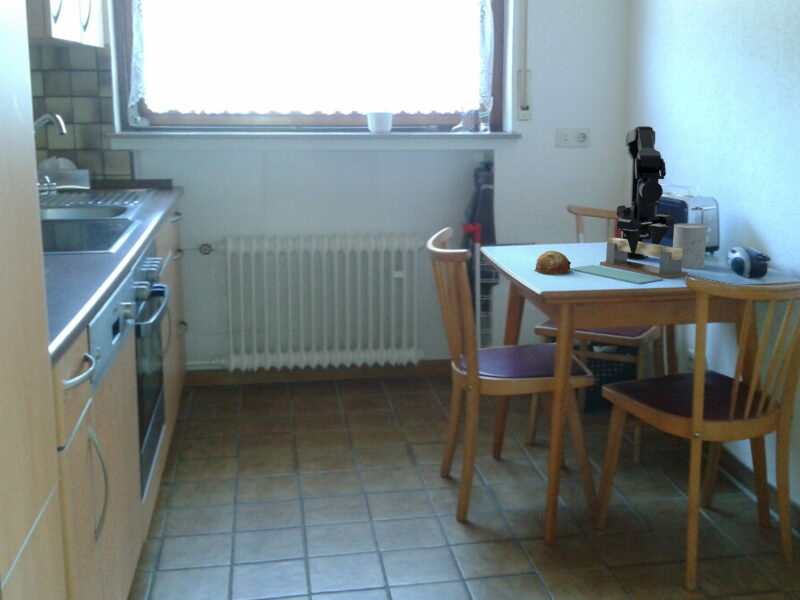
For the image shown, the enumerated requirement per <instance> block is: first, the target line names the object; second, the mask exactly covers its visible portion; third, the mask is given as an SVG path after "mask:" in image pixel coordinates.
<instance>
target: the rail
mask: <svg viewBox="0 0 800 600" xmlns="http://www.w3.org/2000/svg"><path fill="white" fill-rule="evenodd" d="M608 242H610V243H616V244H617V250H620V251H626V252H631V250H630V247H629V243H628V240H626V239H622V238H619V237H609V238H608V239H607V243H608ZM662 251H664V252H669V253H672V254H671V260H680V259H682V252H683V249H682V248H676V247H673V246H669V245H663V244H659V245H657V244H652V242H650V243H649V242H646V241H645V242H639V241H638V245H637V248H636V251H635V253H637V254H643V255H645V256H648V257H649V256H650V257H656V258H660V254H661V252H662Z"/></svg>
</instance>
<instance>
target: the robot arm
mask: <svg viewBox="0 0 800 600" xmlns="http://www.w3.org/2000/svg"><path fill="white" fill-rule="evenodd" d="M626 133H627V134H626V137H625V147H627V154H628V156H629V157H630V159H631V162H632V163H631V181H630V182H631V183H630V184H631V189H630V206H628V207H627V206H626V205H619V206H617V207H616V217H617V218H619V219H617V220H616V229H619V231H621V232H620V233H621V234H620V237H621V239H626V240H628V243H629V247H630V250H631V252H628V254H627V259H630V260H639V259H645V258H646V259H647V258H649V255H643V254H637V253H635V251H636V248H637V245H638V241H639V242H645V243H646V240H651V244H657V245H660V244H661V241H662V240H663V238H664V236H665V235H666V233H667V231H668V230H670V229H671V226H674V220H675V219H674V218H673V216H672V215H668V214H660V213H659V214H657V207H659V206H661V202H660V201H659V200H660V199H661V197H662V196H663V192H664V190H663V187H662V185H661V183H659V180H665V177H666V174H667V171H666V163H665V161H664V160H665V159H664V158H662V155H661V152H660V151H659V150H656V149H655V145H656V131H655V130H654V129H653V127H651V126H650V125H649V126H647V125H646V126H640V125H639V126H636V127H635V128H634V129H632V130H629V131H627V132H626Z"/></svg>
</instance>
